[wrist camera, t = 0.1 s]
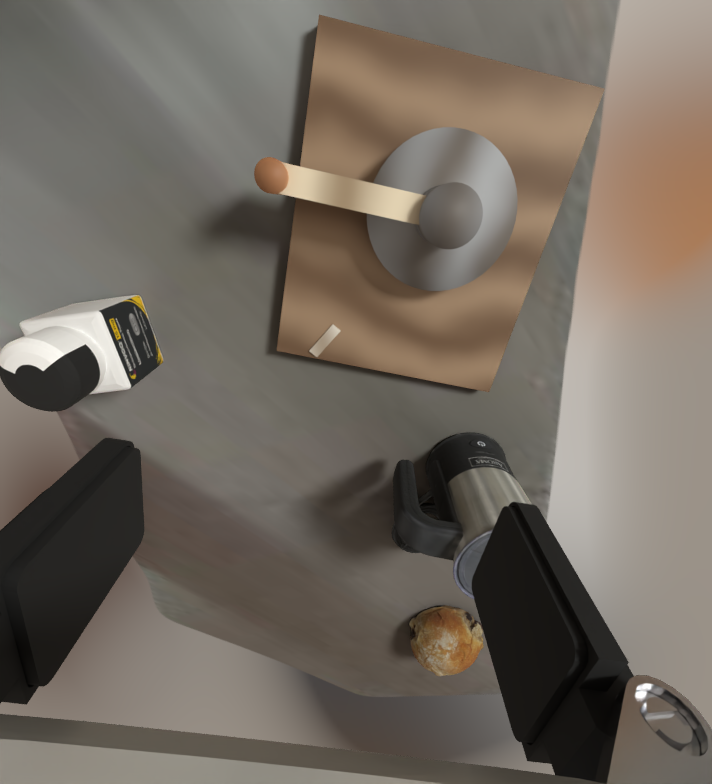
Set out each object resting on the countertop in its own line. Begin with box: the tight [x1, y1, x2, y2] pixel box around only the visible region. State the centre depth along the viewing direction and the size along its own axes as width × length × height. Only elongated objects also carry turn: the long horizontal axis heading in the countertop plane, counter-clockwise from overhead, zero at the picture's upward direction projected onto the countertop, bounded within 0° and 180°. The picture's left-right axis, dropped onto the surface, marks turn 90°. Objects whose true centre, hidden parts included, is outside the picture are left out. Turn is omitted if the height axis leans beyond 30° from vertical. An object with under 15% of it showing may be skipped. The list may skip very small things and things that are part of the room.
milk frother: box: [392, 433, 560, 599], centre depth 42 cm, size 14×16×15 cm
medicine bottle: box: [0, 295, 163, 411], centre depth 35 cm, size 7×7×12 cm
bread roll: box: [409, 605, 483, 676], centre depth 57 cm, size 10×10×8 cm
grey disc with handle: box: [254, 127, 518, 291], centre depth 31 cm, size 20×12×6 cm, turn 78°
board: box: [277, 15, 604, 392], centre depth 36 cm, size 26×22×2 cm
